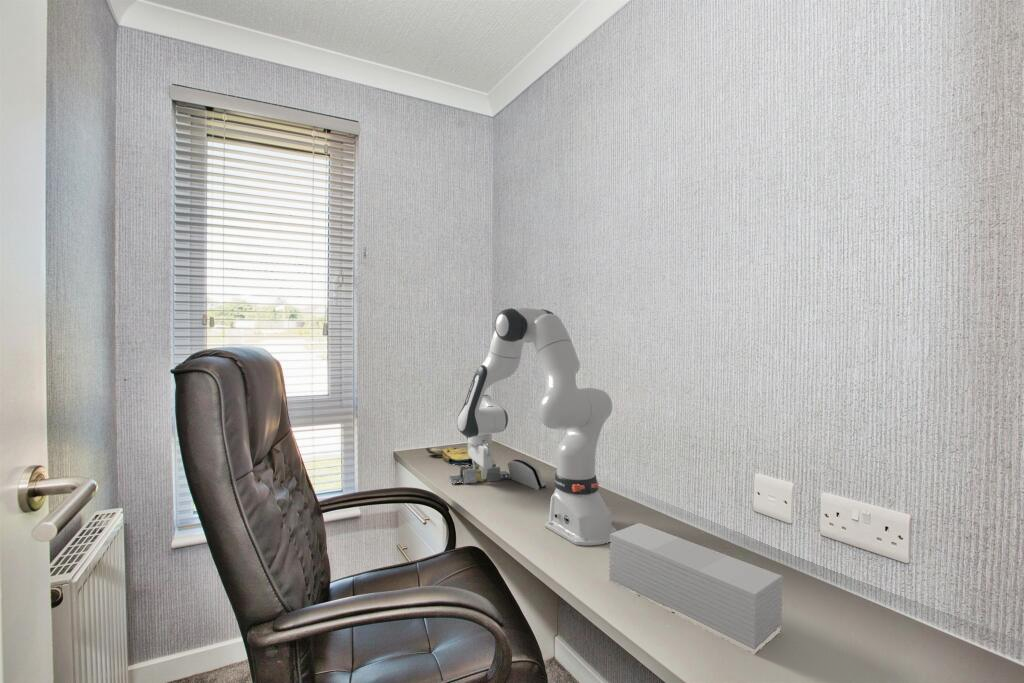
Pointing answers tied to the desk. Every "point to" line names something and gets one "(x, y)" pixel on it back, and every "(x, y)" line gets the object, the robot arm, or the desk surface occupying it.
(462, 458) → the pulley block
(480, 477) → the brass block with peg
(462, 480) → the chain end
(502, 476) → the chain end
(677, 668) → the desk surface
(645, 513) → the desk surface
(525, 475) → the grey half-round block
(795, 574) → the desk surface
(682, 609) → the stack of papers
